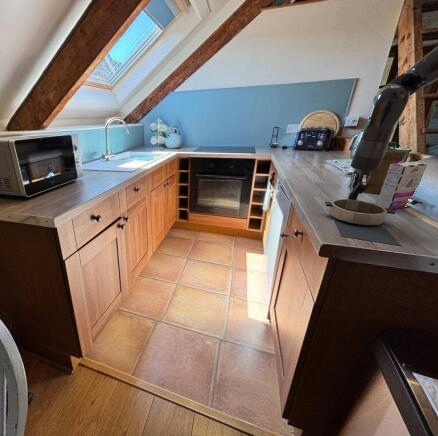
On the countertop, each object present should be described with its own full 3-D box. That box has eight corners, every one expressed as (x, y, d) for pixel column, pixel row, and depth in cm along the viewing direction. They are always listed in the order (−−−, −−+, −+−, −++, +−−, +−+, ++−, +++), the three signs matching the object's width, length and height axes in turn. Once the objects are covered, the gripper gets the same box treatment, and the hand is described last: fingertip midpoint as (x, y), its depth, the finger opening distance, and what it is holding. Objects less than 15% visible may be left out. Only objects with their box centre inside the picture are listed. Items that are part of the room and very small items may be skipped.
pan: (380, 215, 84) (385, 203, 82) (395, 232, 72) (402, 218, 70) (320, 208, 91) (323, 196, 89) (325, 222, 80) (328, 209, 78)
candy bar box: (394, 203, 96) (411, 161, 89) (410, 207, 91) (429, 163, 85) (373, 206, 93) (389, 163, 87) (388, 210, 89) (406, 165, 82)
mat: (385, 227, 75) (385, 227, 75) (401, 246, 65) (401, 245, 65) (334, 220, 81) (334, 220, 81) (341, 236, 70) (341, 236, 70)
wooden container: (394, 195, 104) (415, 142, 96) (351, 191, 112) (366, 141, 103) (386, 187, 116) (403, 139, 108) (347, 184, 123) (361, 138, 115)
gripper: (391, 159, 73) (368, 211, 81) (378, 150, 83) (359, 196, 91) (359, 158, 76) (341, 207, 84) (350, 148, 86) (335, 194, 94)
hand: (350, 202), depth 88 cm, fingers closed
